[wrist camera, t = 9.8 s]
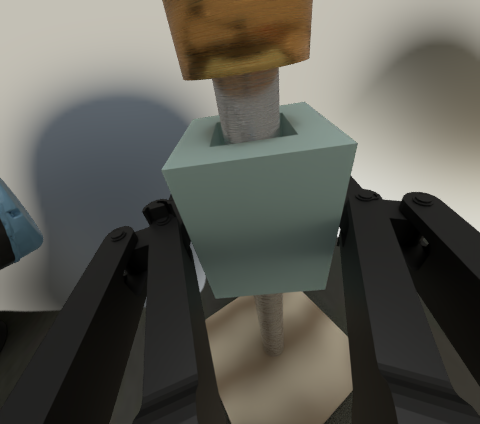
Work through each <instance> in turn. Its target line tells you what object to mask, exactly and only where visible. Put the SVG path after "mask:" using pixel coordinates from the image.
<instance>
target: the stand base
mask: <svg viewBox="0 0 480 424" xmlns="http://www.w3.org/2000/svg"><path fill="white" fill-rule="evenodd" d="M205 323H206V328H207V333H208V339H209V344H210V349H211V355H212V360H213V365H214V370H215V376H216V381H217V386H218V392H219V395H220V397H221V400H222V402H223V405H224V407H225V409H226V412H227V414H228V416H229V419H230V421H231V424H324V422H325V421H326V420H327V419H328V418H329V417H330V416H331V414H332V413H333V412H334V411H335V410H336V409H337V408H338V406H339V405H340V404H341V403H342V402H343V401H344V400H345V398H346V397H347V396H348V395H349V394H350V393H351V392H352V390H353V385H352V374H351V363H350V352H349V341H348V337H347V336H346V335H345V334H344V333H343V332H342V331H341V330H340V329H339V328H338V327H337V326H336V325H335V324H334V323H333V322H332V321H331V320H330V319H329V318H328V317H327V316H326V315H325V314H324V313H323V312H322V311H321V310H320V309H319V308H318V307H317V306H316V305H315V304H314V303H313V302H312V301H311V300H310V299H309V298H308V297H307V296H306V295H305V294H304V293H303V292H302V291H300V292H288V293H283V333H284V349H283V352H282V353H281V354H280V355H279V356H277V357H272V356H269V355H268V354H267V353H266V352H265V350H264V347H263V342H262V337H261V331H260V326H259V321H258V316H257V311H256V305H255V300H254V295H252V296H240V297H238V298H237V299H235V300H234V301H232V302H231V303H229V304H228V305H226V306H225V307H224V308H222V309H221V310H219V311H218V312H216V313H215V314H213V315H212V316H210V317H209V318H208V319H206V320H205Z"/></svg>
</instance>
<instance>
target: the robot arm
mask: <svg viewBox="0 0 480 424" xmlns="http://www.w3.org/2000/svg"><path fill="white" fill-rule="evenodd" d="M142 212H143V214H144V216H145V218H146V219H147V221H148V223H149V225H150V227H148V228H145V229H143V230H139V231H137V232H134V230H133V229H132V228H131V227H129V226H124V227H120V228H117V229H115V230H113V231H112V232H111V233H109V234H108V235H107V236H106V237H105V239H104V240H103V242H102V244H101V245H100V247H99V249H98V250H97V252H96V253H95V255H94V257H93V259H92V260H91V262H90V263H89V265H88V267H87V268H86V270H85V272H84V273H83V275H82V277H81V278H80V280H79V282H78V283H77V285H76V286H75V288H74V290H73V291H72V293H71V295H70V296H69V298H68V300H67V301H66V303H65V305H64V306H63V308H62V309H61V311H60V313H59V314H58V316H57V318H56V319H55V321H54V323H53V324H52V326H51V328H50V329H49V331H48V333H47V334H46V336H45V337H44V339H43V341H42V342H41V344H40V346H39V347H38V349H37V351H36V352H35V354H34V356H33V357H32V359H31V361H30V362H29V364H28V365H27V367H26V369H25V370H24V372H23V374H22V375H21V377H20V379H19V380H18V382H17V384H16V385H15V387H14V389H13V390H12V392H11V393H10V395H9V397H8V398H7V400H6V402H5V403H4V405H3V407H2V408H1V410H0V424H109V422H110V419H111V416H112V412H113V409H114V405H115V402H116V399H117V395H118V392H119V388H120V385H121V382H122V378H123V375H124V371H125V368H126V364H127V361H128V358H129V354H130V351H131V347H132V344H133V341H134V337H135V334H136V330H137V327H138V324H139V320H140V317H141V313H142V310H143V307H144V303H145V300H146V296H147V302H146V327H145V352H144V376H143V399H142V406H141V409H140V412H139V413H138V415H137V416H136V418H135V419H134V421H133V423H132V424H227V421H226V417H225V414H224V411H223V408H222V405H221V401H220V397H219V392H218V386H217V381H216V376H215V370H214V365H213V360H212V355H211V349H210V344H209V339H208V333H207V328H206V323H205V318H204V312H203V307H202V302H201V296H200V291H199V286H198V281H197V275H196V270H195V265H194V259H193V255H192V250H191V248H190V242H191V239H190V237H189V235H188V232H187V230H186V228H185V225H184V223H183V221H182V218H181V216H180V213H179V211H178V209H177V206H176V204H175V202H174V199H173V197H172V195H170V198H169V200H167V199H160V200H156V201H153V202H151V203H150V204H148V205H146V207H144V209H143V211H142ZM339 227H340V229H341V230H340V234H339V238H338V242H337V246H339V244H340V253H341V264H342V275H343V286H344V297H345V308H346V319H347V330H348V341H349V352H350V363H351V374H352V385H353V404H352V424H480V416H479V415H478V414H477V412H476V411H475V410H474V408H473V407H472V406H471V405H469V404H468V403H467V402H466V401H464V400H463V399H462V398H460V397H459V396H458V395H457V393H456V392H455V391H454V389H453V387H452V385H451V383H450V380H449V378H448V375H447V372H446V370H445V367H444V364H443V361H442V359H441V356H440V353H439V351H438V348H437V345H436V343H435V340H434V337H433V334H432V332H431V329H430V326H429V324H428V321H427V318H426V316H425V313H424V310H423V308H422V305H421V302H420V299H419V297H418V294H419V295H420V297H421V298H422V300H423V301H424V303H425V304H426V306H427V307H428V309H429V310H430V312H431V313H432V315H433V317H434V318H435V320H436V321H437V323H438V324H439V326H440V327H441V329H442V330H443V332H444V333H445V335H446V336H447V338H448V339H449V341H450V342H451V344H452V345H453V347H454V348H455V350H456V351H457V353H458V354H459V356H460V357H461V359H462V360H463V362H464V363H465V365H466V366H467V368H468V369H469V371H470V372H471V374H472V375H473V377H474V379H475V380H476V382H477V383H478V385H479V386H480V232H479V231H477V230H476V229H475V228H474V227H472V226H471V225H470V224H469V223H468V222H466V221H465V220H464V219H463V218H462V217H460V216H459V215H458V214H457V213H456V212H454V211H453V210H452V209H451V208H450V207H448V206H447V205H446V204H445V203H444V202H442V201H441V200H440V199H438V198H437V197H435V196H433V195H430V194H427V193H422V192H411V193H407V194H405V195H404V197H403V199H402V201H392V200H382V198H381V196H380V195H379V194H377V193H376V192H374V191H371V190H366V189H362V188H361V187H360V185H359V184H358V183H357V182H356V181H355V180H354V179H353V178H352V176H351V175H350V180H349V184H348V189H347V193H346V198H345V202H344V207H343V211H342V216H341V220H340V225H339ZM423 238H425V239H426V240H427V241H428V243H429V244H428V245H427V244H425V243H424V241H423ZM42 243H43V235H42V233H41V231H40V230H39V228H38V226H37V225H36V224H35V222H34V220H33V219H32V218H31V216H30V215H29V213H28V212H27V211H26V210H25V208H24V207H23V205H22V204H21V203H20V201H19V200H18V199H17V197H16V196H15V195H14V194H13V192H12V191H11V190H10V189H9V188H8V187H7V185H6V184H5V183H4V181H3V180H2V179H1V178H0V270H1V269H3V268H5V267H7V266H9V265H11V264H13V263H16V262H18V261H19V260H20V258H22V257H24V256H26V255H27V254H29V253H31V252H33V251H34V250H36V249H38V248H39V247H40V246H41V245H42ZM124 271H125V272H124ZM417 292H418V294H417ZM6 335H7V328H6V325H5V323H4V322H3V321H1V320H0V351H1V349H2V347H3V345H4V342H5V339H6Z"/></svg>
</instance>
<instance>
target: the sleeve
mask: <svg viewBox="0 0 480 424" xmlns="http://www.w3.org/2000/svg"><path fill="white" fill-rule="evenodd" d="M279 116H280V137H277V138H271V139H264V140H257V141H250V142H243V143H236V144H229V145H225V143H224V138H223V133H222V127H221V122H220V117H219V115H218V116H211V117H205V118H198V119H193V121H192V122H191V124H190V125H189V127H188V128H187V130H186V132H185V133H184V135H183V137H182V138H181V140H180V141H179V143H178V144H177V146H176V148H175V149H174V151H173V152H172V154H171V156H170V157H169V159H168V160H167V162H166V164H165V165H164V167H163V168H162V170H161V171H162V173H163V176H164V178H165V180H166V183H167V185H168V187H169V190H170V192H171V195H172V197H173V199H174V202H175V204H176V206H177V209H178V211H179V213H180V216H181V218H182V221H183V223H184V225H185V228H186V230H187V232H188V235H189V237H190V239H191V242H192V244H193V246H194V249H195V251H196V253H197V256H198V258H199V261H200V263H201V265H202V268H203V270H204V272H205V275H206V277H207V280H208V282H209V284H210V287H211V289H212V291H213V294H214V296H215V298H216V299H217V298H228V297H240V296H252V295H264V294H276V293H288V292H300V291H312V290H323V289H325V287H326V283H327V278H328V274H329V270H330V265H331V261H332V256H333V252H334V247H335V243H336V238H337V234H338V229H339V225H340V220H341V216H342V211H343V207H344V202H345V198H346V193H347V189H348V184H349V180H350V175H351V171H352V166H353V162H354V158H355V153H356V149H357V144H358V143H357V142H356V141H354V140H353V139H352V138H350V137H349V136H348V135H347V134H345V133H344V132H343V131H341V130H340V129H339V128H338V127H336V126H335V125H334V124H332V123H331V122H330V121H329V120H327V119H326V118H325V117H323V116H322V115H321V114H320V113H318V112H317V111H315V110H314V109H313V108H312V107H311V106H309V105H308V104H307V103H305V102H300V103H294V104H288V105H281V106H279Z"/></svg>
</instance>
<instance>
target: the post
mask: <svg viewBox="0 0 480 424" xmlns="http://www.w3.org/2000/svg"><path fill="white" fill-rule="evenodd" d="M162 1H163V5H164V8H165V12H166V16H167V20H168V23H169V27H170V31H171V35H172V39H173V42H174V46H175V50H176V53H177V57H178V61H179V65H180V69H181V72H182V76H183V79H184V80H203V79H212V80H213V86H214V90H215V96H216V101H217V106H218V112H219V117H220V122H221V127H222V133H223V138H224V143H225V145H229V144H236V143H243V142H250V141H257V140H264V139H271V138H277V137H280V116H279V67H281V66H286V65H290V64H294V63H298V62H301V61H304V60H307V59H309V54H310V36H311V19H312V2H313V0H162ZM254 300H255V305H256V311H257V316H258V321H259V326H260V331H261V337H262V342H263V347H264V350H265V352H266V353H267V354H268V355H269V356H272V357H277V356H279V355H280V354H281V353H282V352H283V349H284V333H283V293H276V294H264V295H254Z"/></svg>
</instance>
